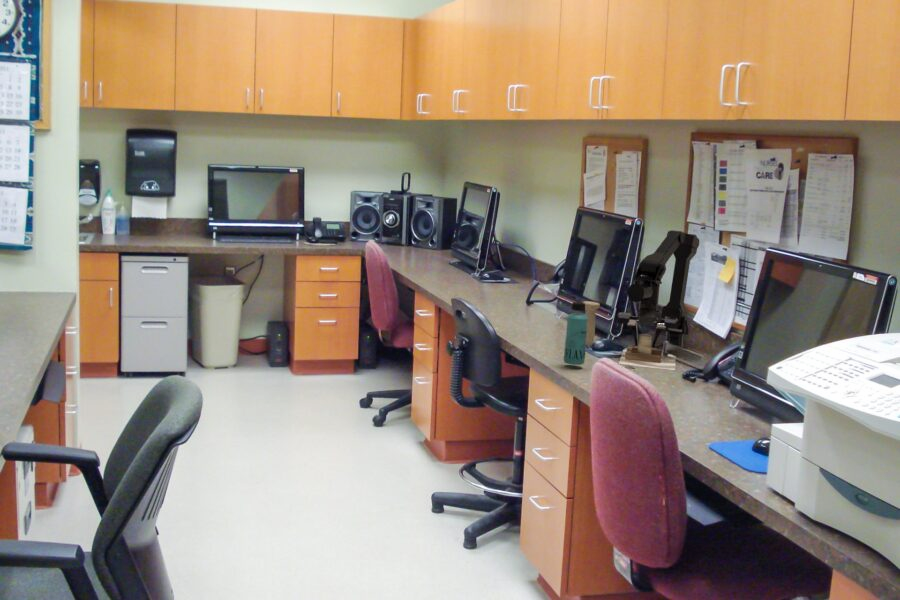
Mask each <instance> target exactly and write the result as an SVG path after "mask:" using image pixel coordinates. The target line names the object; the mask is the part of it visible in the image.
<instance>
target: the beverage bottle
mask: <svg viewBox="0 0 900 600" xmlns="http://www.w3.org/2000/svg"><path fill="white" fill-rule="evenodd" d="M571 305H572V306H571V310H573V311H579V312H571V313H570V314H568V315H567V318H566V320H567V321H566V331H565V332H566V334H565V341H564V352H563V363H564V364H567V365H574V366H580V365H584V363H585V360H586V348H587V347H586V346H587V345H586V334H587V322H588V317H587V316H586V315H585V313H582V312H583V311H584V312H585V311H586V309H585V303H583V302H578V301H575V302H572V304H571Z"/></svg>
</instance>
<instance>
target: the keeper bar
mask: <svg viewBox="0 0 900 600" xmlns="http://www.w3.org/2000/svg"><path fill="white" fill-rule="evenodd" d="M668 354H669V355H673V356H676V358H679V359H681V360H683V361H686V362H688V363H691V364H694V365H696V366H698V367H704V365H705V355H703V354H700V353H699V352H695V351H692V350H690V349H687V348H684V347H683V346H682V347H680V346H677V345H674V344H672V343H669V341H666V340H663V346H662V355H668Z"/></svg>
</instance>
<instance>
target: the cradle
mask: <svg viewBox="0 0 900 600" xmlns="http://www.w3.org/2000/svg"><path fill="white" fill-rule="evenodd" d="M637 350H638V346H629V345H628V346H627V349H623V350H622V353H621V354H620V355H621V356H620V359H619V362H618V365H619V364H621V365H623V366H625V367H626V369H636V368H635V367H643V368H644V367H645V368H652V369H662V370H670V371H671V370H672V371H675V370H676V361H677V360H676V359H677V357H676V356H673V355H671V354H668V355H662V354H663V349H658V348H657V349H656V348H652V351H651V355H648V354H639V353H637ZM633 366H635V367H633Z"/></svg>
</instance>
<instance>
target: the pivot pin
mask: <svg viewBox="0 0 900 600" xmlns="http://www.w3.org/2000/svg"><path fill="white" fill-rule="evenodd" d="M653 340H654V335H652V334H648V333H647V334H646V333H645V334H644V333H640V334H639V333H638V343H637V347H638V350H637V353H639V354H648V355H651V351H652V349H653V348H652V345H653Z"/></svg>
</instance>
